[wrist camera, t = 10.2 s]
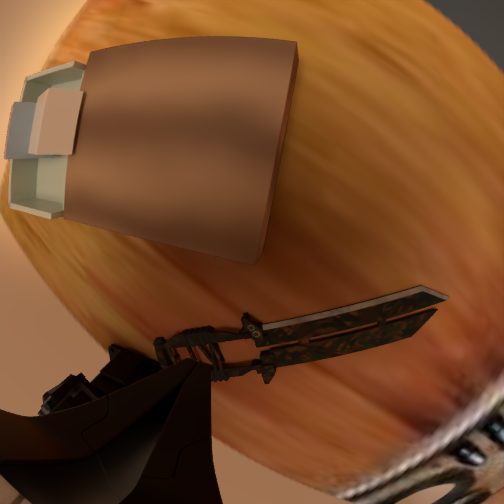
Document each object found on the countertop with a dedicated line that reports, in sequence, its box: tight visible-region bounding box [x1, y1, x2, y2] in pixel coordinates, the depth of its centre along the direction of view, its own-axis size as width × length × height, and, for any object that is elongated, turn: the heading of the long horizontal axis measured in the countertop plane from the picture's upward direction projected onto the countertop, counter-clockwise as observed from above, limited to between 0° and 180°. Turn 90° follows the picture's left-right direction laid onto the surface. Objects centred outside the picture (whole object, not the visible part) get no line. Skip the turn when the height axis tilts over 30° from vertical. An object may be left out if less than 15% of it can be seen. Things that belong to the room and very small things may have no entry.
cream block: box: [28, 88, 84, 155], centre depth 16 cm, size 5×5×3 cm
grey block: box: [4, 102, 54, 159], centre depth 17 cm, size 5×5×3 cm
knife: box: [153, 286, 449, 384], centre depth 21 cm, size 25×6×1 cm, turn 103°
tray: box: [8, 61, 86, 219], centre depth 19 cm, size 13×8×4 cm, turn 170°
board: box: [64, 36, 299, 266], centre depth 17 cm, size 14×16×3 cm
